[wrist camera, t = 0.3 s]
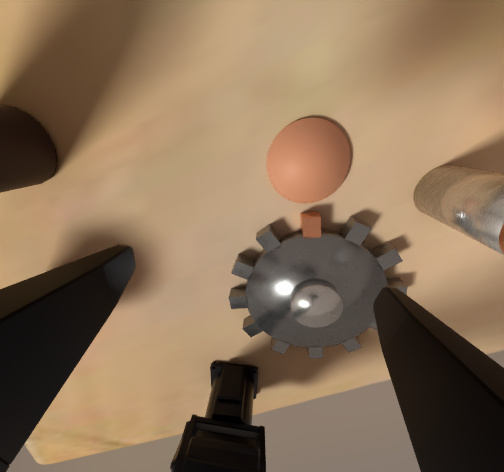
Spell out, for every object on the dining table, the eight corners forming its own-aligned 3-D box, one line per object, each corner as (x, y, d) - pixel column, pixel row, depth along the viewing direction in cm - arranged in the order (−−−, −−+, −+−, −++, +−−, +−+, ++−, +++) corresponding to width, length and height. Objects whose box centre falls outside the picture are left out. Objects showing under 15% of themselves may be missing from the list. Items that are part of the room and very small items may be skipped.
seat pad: (340, 204, 21) (341, 205, 21) (264, 200, 21) (264, 200, 21) (357, 119, 18) (359, 119, 18) (270, 116, 18) (270, 115, 18)
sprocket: (359, 359, 29) (369, 382, 26) (221, 331, 29) (216, 352, 26) (432, 233, 21) (456, 247, 19) (246, 194, 21) (242, 203, 19)
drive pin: (457, 217, 21) (603, 282, 12) (406, 214, 21) (510, 276, 12) (479, 165, 19) (675, 195, 10) (423, 163, 19) (562, 189, 10)
